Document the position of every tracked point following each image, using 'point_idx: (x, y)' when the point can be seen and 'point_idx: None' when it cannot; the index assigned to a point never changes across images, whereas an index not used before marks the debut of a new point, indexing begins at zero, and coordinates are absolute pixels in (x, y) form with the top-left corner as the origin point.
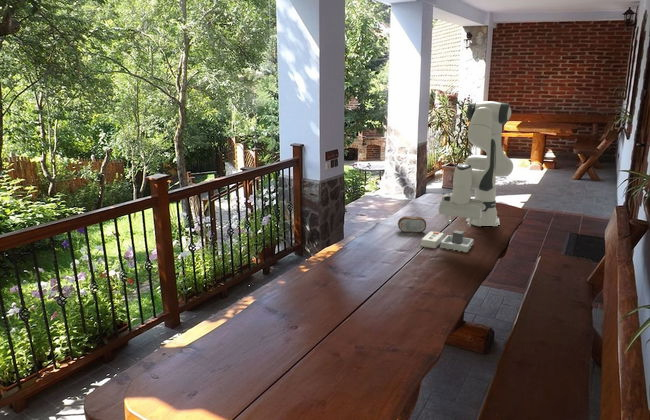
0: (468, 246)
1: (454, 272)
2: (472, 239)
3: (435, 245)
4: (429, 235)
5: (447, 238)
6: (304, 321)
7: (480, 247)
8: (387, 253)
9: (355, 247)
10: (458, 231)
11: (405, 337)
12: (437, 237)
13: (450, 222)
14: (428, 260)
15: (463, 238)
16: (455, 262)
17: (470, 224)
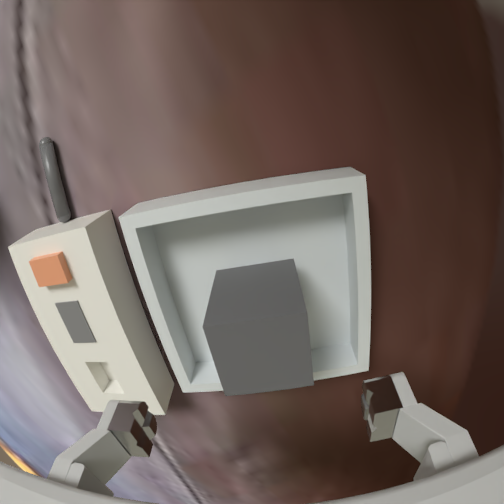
0: (368, 345)
1: (354, 489)
2: (359, 191)
3: (169, 392)
4: (62, 337)
5: (151, 262)
6: None
7: (412, 191)
8: None
9: (27, 452)
10: (253, 345)
11: None
12: (118, 348)
13: (146, 430)
14: (240, 477)
15: (273, 202)
16: (337, 452)
17: (408, 398)
